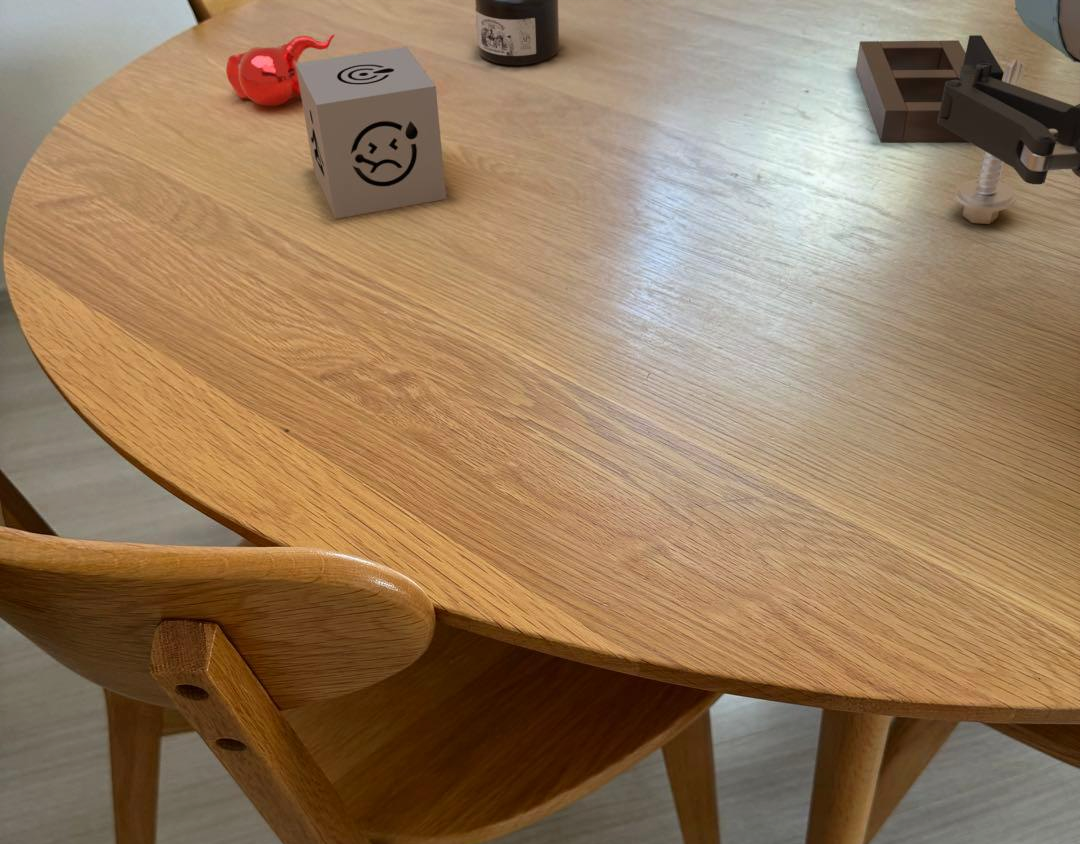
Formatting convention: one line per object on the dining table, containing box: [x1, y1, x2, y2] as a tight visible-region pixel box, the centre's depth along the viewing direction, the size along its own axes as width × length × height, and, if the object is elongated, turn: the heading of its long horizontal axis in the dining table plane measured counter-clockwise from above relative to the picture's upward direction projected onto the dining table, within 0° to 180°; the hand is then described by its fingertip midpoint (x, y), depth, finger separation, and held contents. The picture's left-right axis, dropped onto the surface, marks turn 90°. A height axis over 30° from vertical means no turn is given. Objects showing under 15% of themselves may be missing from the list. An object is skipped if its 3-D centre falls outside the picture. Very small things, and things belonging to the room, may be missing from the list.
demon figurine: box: [225, 33, 335, 107], centre depth 119 cm, size 8×6×12 cm
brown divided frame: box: [855, 39, 970, 143], centre depth 113 cm, size 10×18×3 cm, turn 176°
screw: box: [953, 58, 1026, 225], centre depth 92 cm, size 13×5×5 cm
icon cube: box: [295, 46, 447, 220], centre depth 102 cm, size 10×10×10 cm
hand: (1076, 55), depth 76 cm, fingers open, 13 cm apart
